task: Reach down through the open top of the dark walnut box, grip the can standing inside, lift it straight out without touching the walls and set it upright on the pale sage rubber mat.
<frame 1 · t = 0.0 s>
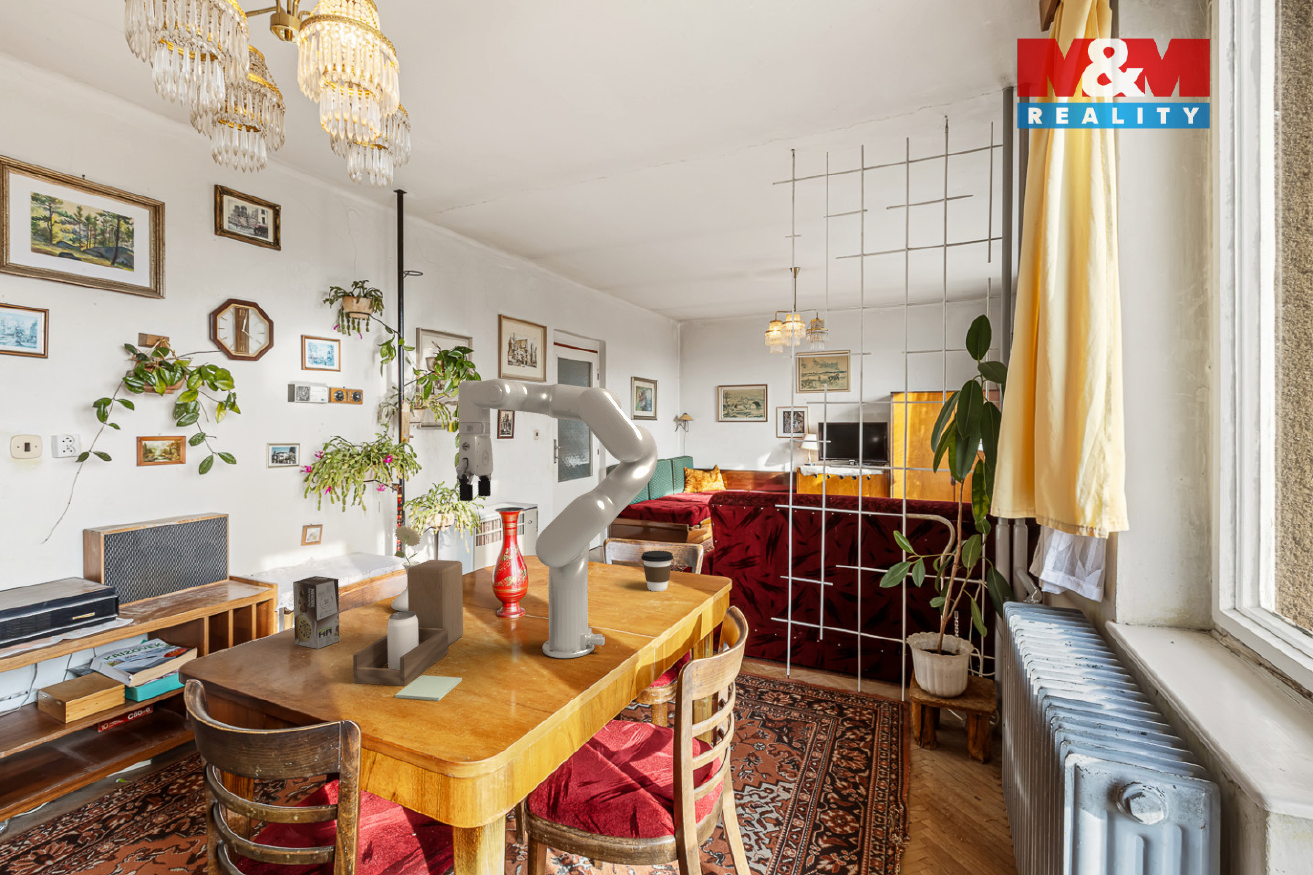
hand: (475, 498, 148), 37 cm above the table, tool pointing down, fingers open, 9 cm apart
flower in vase: (410, 608, 179), on the table
walnut box: (403, 667, 134), on the table
block: (436, 642, 150), on the table
sage mat: (429, 688, 123), on the table
coffee cup: (657, 589, 198), on the table
coffee box: (317, 643, 150), on the table
can: (403, 668, 134), resting in walnut box
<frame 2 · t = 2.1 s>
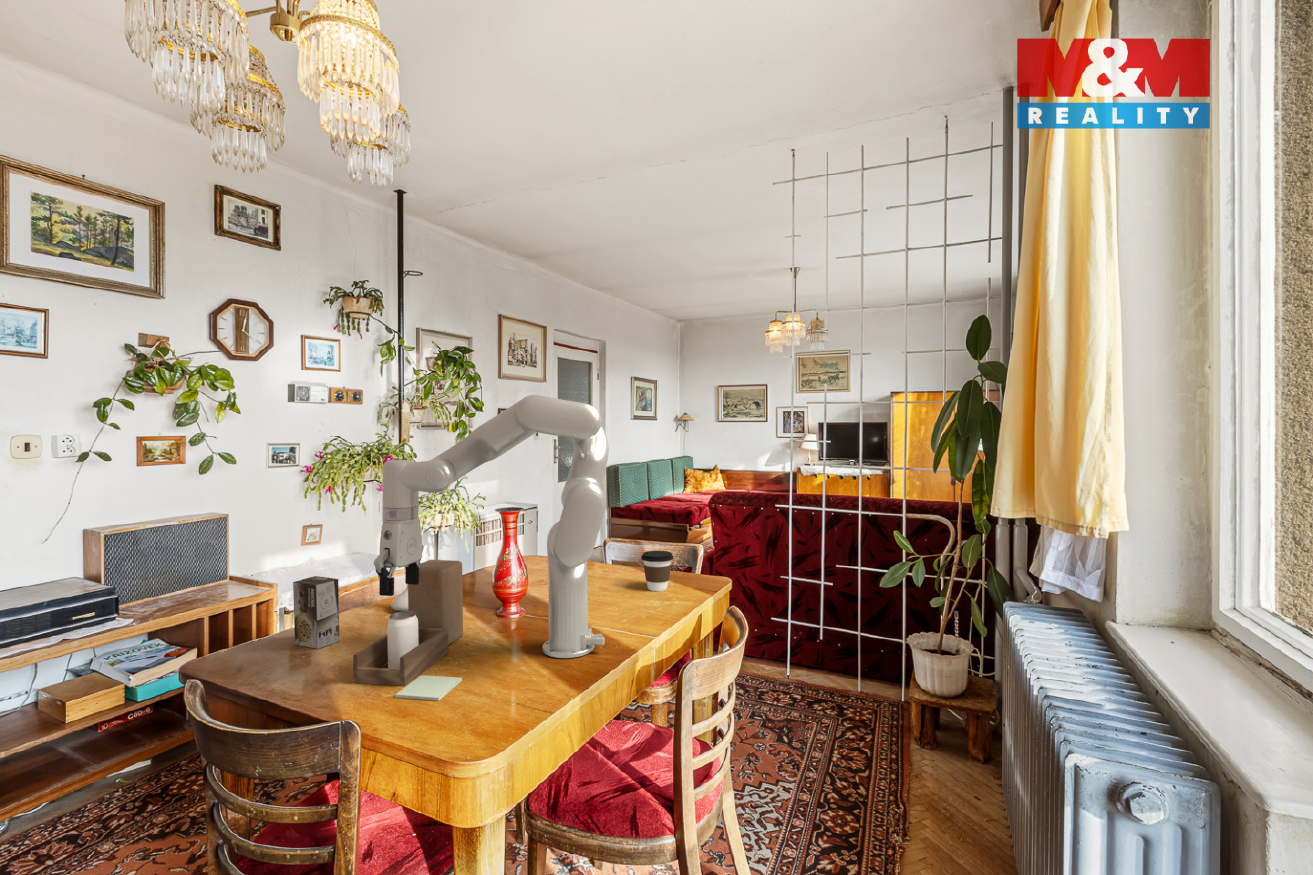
hand: (399, 589, 134), 18 cm above the table, tool pointing down, fingers open, 9 cm apart
nothing on the table moved.
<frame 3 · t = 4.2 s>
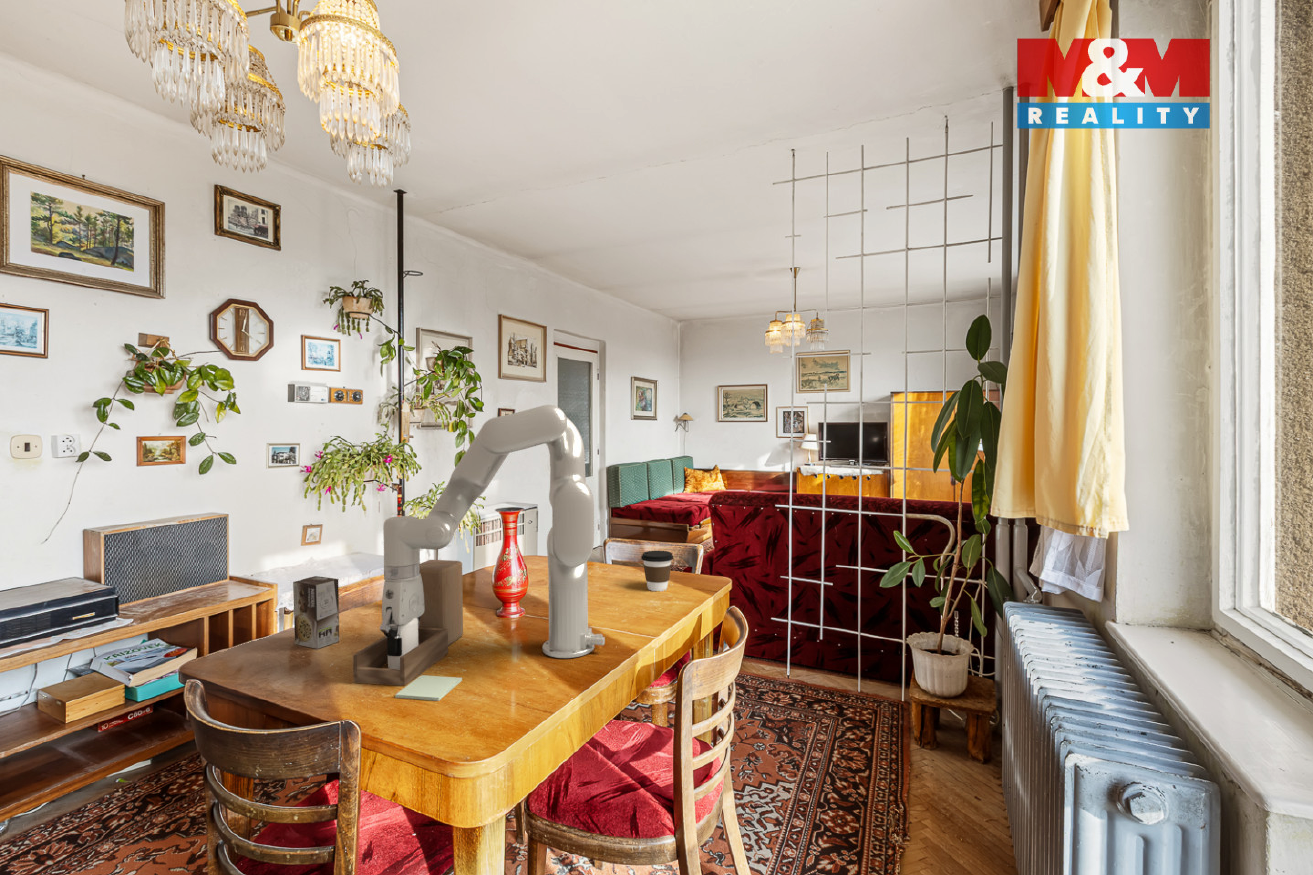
hand: (403, 649, 134), 4 cm above the table, tool pointing down, fingers closed on can, 5 cm apart
can: (403, 667, 134), resting in walnut box, touching gripper
everything else where it was.
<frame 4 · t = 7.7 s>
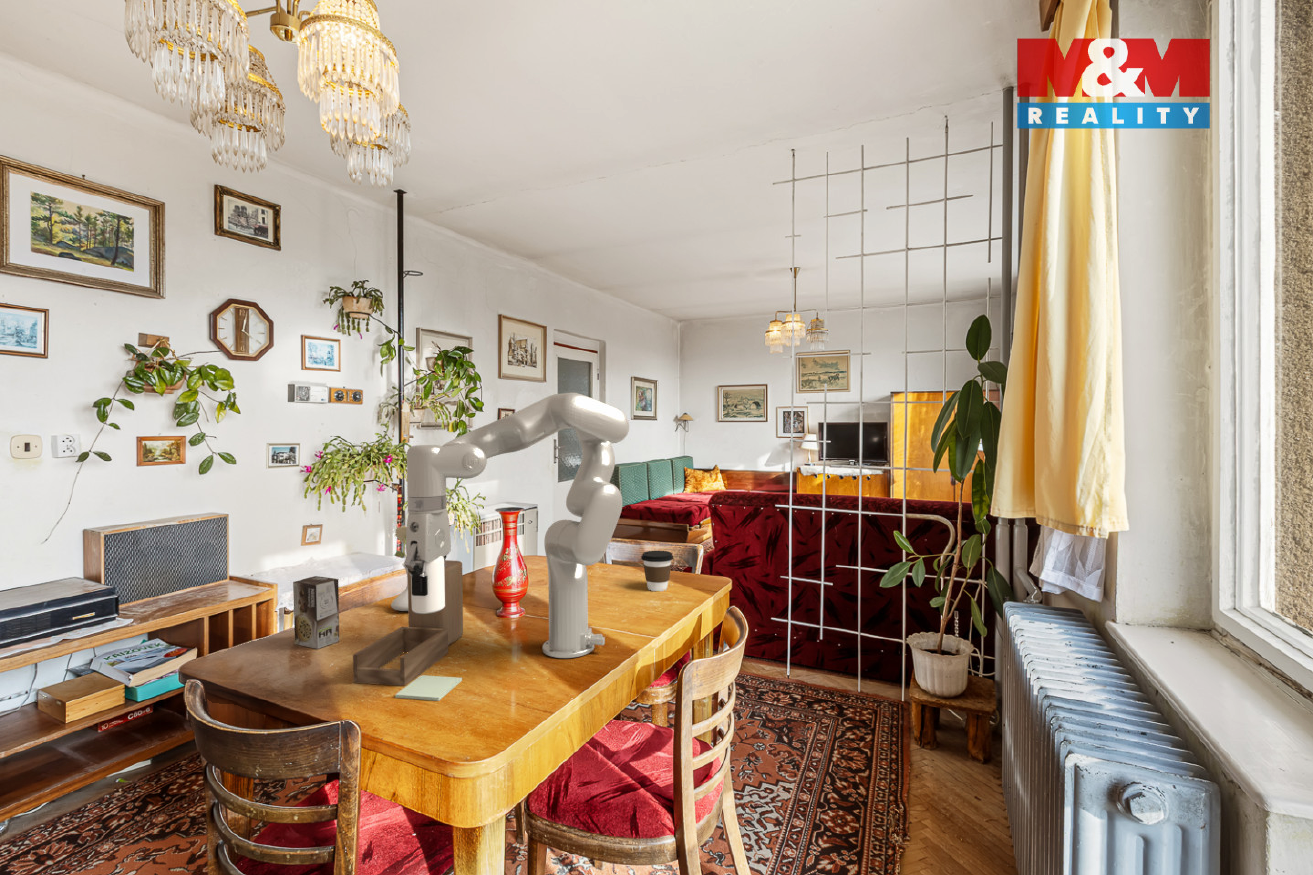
hand: (428, 590, 123), 21 cm above the table, tool pointing down, fingers closed on can, 5 cm apart
can: (428, 610, 123), point 16 cm above the table, touching gripper
everything else where it was.
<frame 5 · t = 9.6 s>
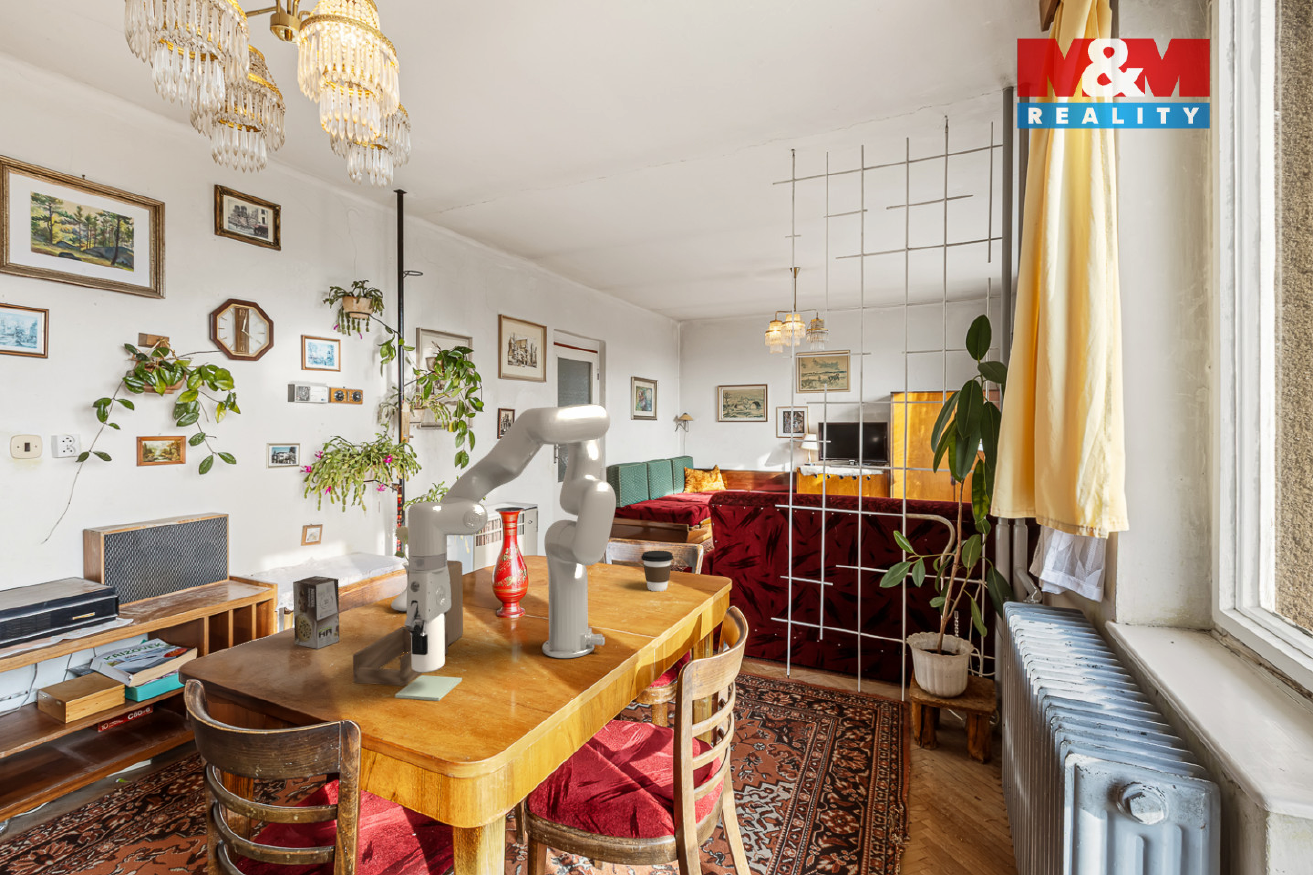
hand: (428, 647, 123), 9 cm above the table, tool pointing down, fingers closed on can, 5 cm apart
can: (428, 667, 123), point 4 cm above the table, touching gripper
everything else where it was.
when the fingers open (6 cm above the table, at t = 11.2 s): can drops 1 cm, resting on sage mat.
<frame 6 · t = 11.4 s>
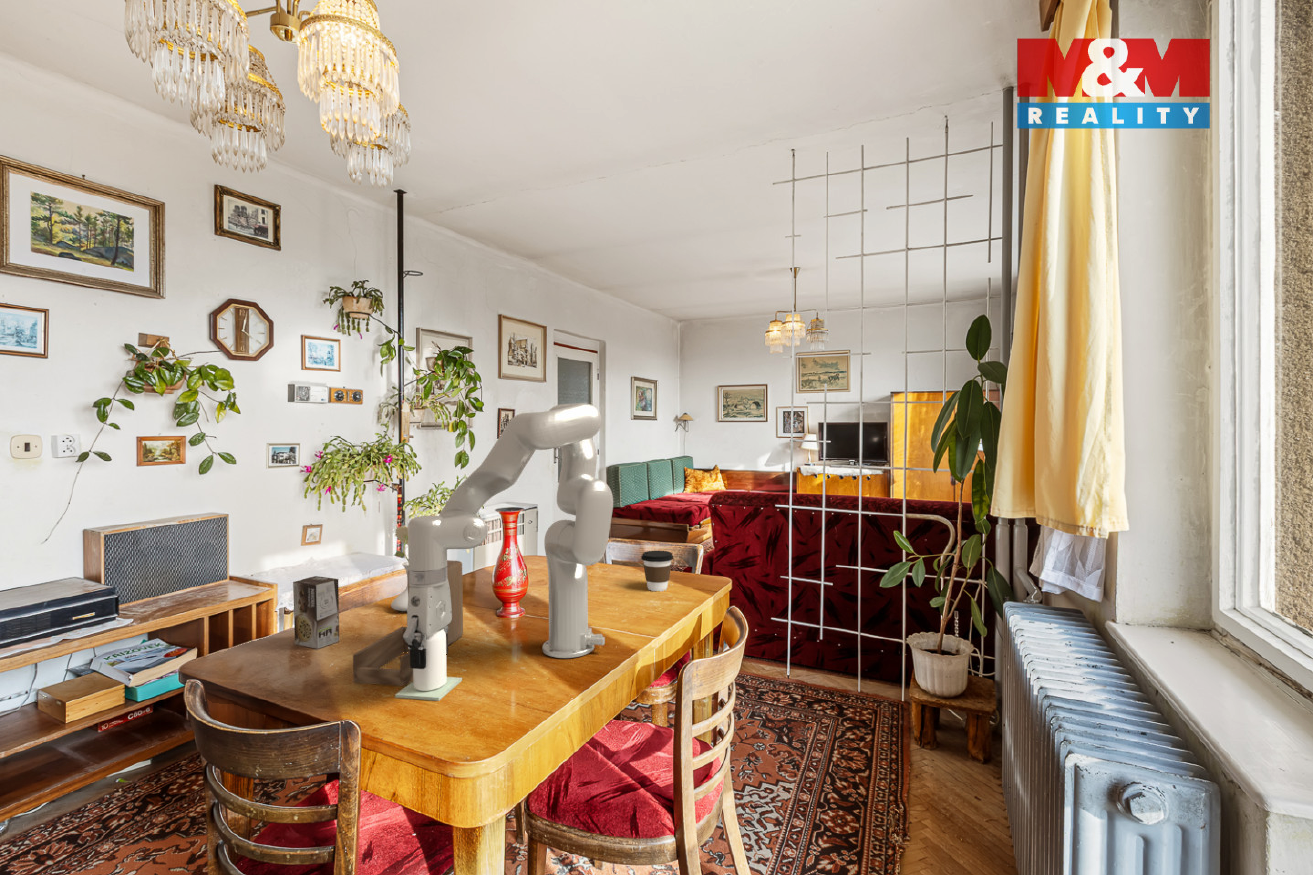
hand: (429, 659, 123), 6 cm above the table, tool pointing down, fingers open, 7 cm apart
can: (430, 686, 123), resting on sage mat
everything else where it was.
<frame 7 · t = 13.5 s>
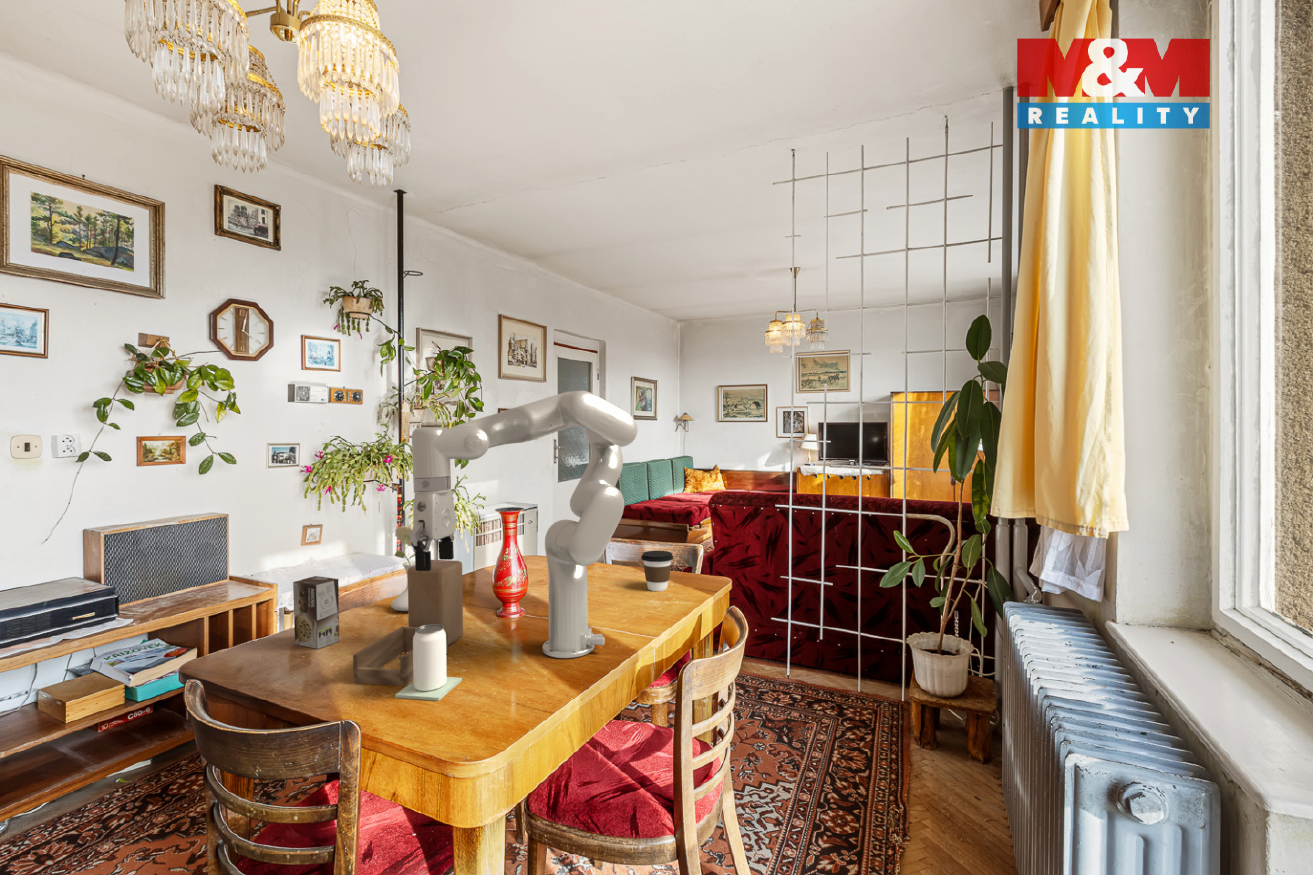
hand: (435, 564, 126), 25 cm above the table, tool pointing down, fingers open, 9 cm apart
nothing on the table moved.
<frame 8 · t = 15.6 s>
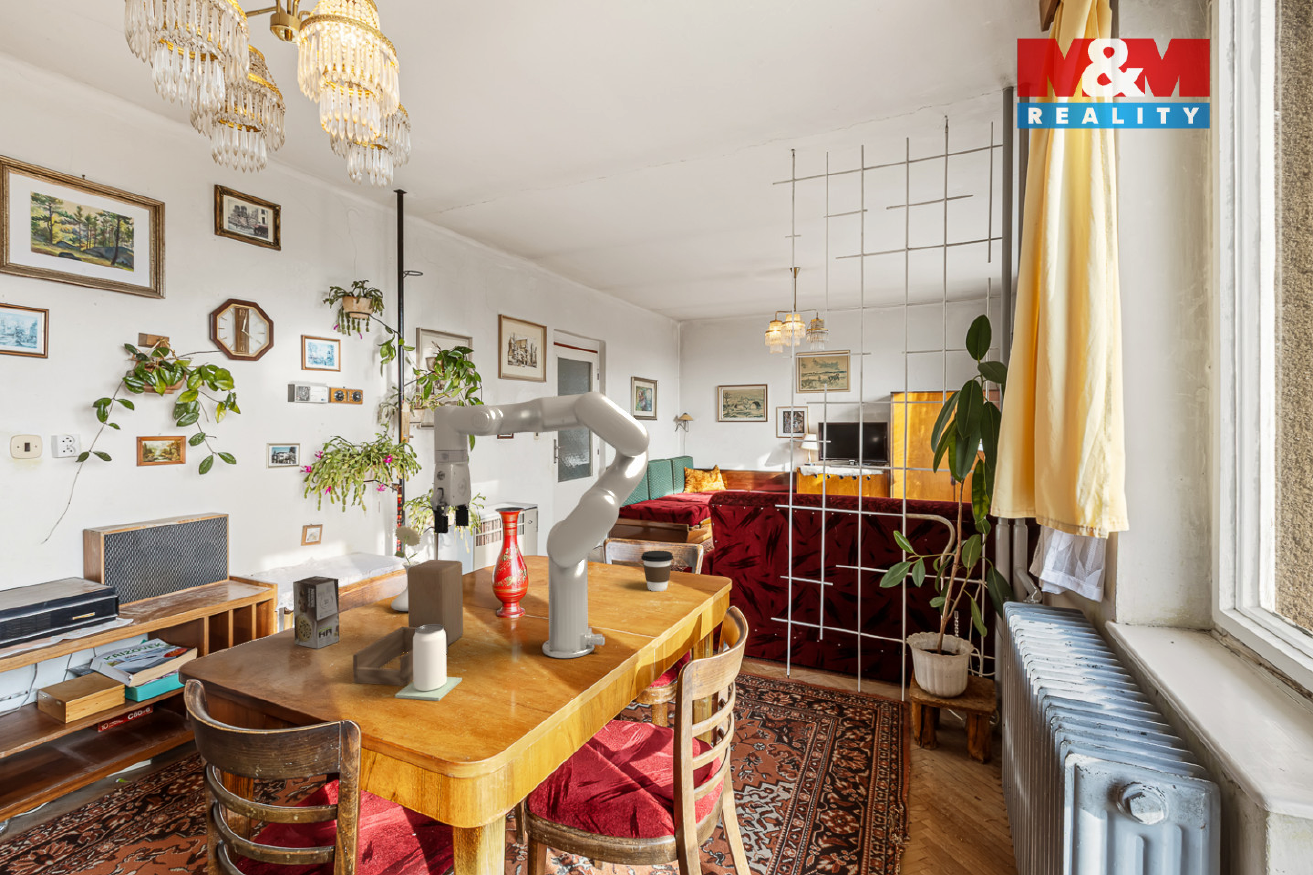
hand: (452, 529, 140), 30 cm above the table, tool pointing down, fingers open, 9 cm apart
nothing on the table moved.
at the end: can inside the target area on the sage mat (0.3 cm from its centre), point 0.4 cm above the sage mat's base; can tilted 0°; the gripper is holding nothing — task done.
